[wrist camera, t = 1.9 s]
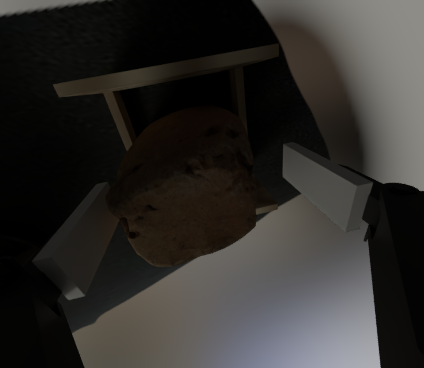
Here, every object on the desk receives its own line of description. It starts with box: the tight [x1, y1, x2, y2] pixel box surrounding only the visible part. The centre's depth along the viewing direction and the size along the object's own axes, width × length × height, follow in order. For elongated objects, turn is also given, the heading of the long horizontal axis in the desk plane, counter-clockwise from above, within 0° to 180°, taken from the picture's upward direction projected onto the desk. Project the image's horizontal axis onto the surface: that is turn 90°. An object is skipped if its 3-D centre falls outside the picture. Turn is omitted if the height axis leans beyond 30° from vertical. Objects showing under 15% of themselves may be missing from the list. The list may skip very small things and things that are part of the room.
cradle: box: [53, 43, 279, 215], centre depth 22 cm, size 16×16×12 cm
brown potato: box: [105, 104, 257, 267], centre depth 19 cm, size 11×8×20 cm
